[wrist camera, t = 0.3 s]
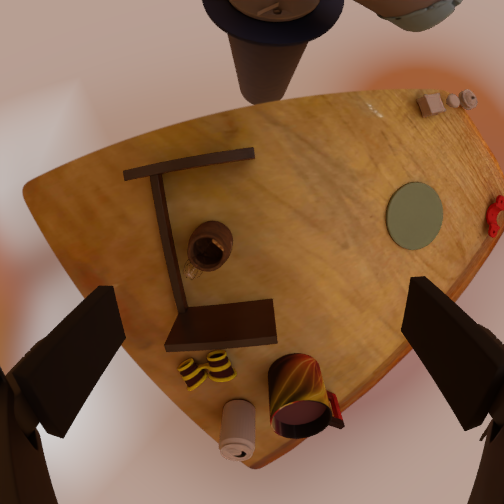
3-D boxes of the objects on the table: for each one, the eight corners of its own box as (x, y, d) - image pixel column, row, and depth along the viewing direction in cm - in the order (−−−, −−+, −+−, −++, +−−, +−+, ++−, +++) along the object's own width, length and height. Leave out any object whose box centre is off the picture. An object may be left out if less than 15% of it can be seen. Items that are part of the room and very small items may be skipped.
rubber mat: (416, 167, 42) (418, 168, 41) (451, 216, 44) (452, 217, 43) (372, 216, 44) (374, 216, 43) (411, 261, 46) (412, 263, 46)
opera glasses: (227, 344, 52) (222, 356, 47) (239, 368, 52) (235, 382, 47) (179, 358, 53) (171, 370, 48) (192, 381, 53) (185, 395, 48)
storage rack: (182, 314, 49) (166, 352, 39) (152, 167, 42) (122, 170, 32) (273, 305, 48) (277, 343, 38) (253, 150, 42) (253, 147, 31)
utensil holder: (186, 240, 45) (164, 268, 34) (213, 209, 44) (198, 227, 33) (215, 266, 47) (203, 300, 35) (243, 236, 45) (239, 263, 34)
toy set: (425, 93, 35) (414, 99, 38) (433, 114, 35) (422, 118, 39) (476, 87, 34) (465, 92, 37) (483, 106, 34) (472, 110, 38)
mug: (333, 393, 54) (346, 437, 43) (264, 390, 54) (265, 437, 42) (347, 355, 51) (365, 399, 40) (272, 351, 51) (276, 398, 40)
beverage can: (241, 421, 57) (239, 466, 45) (217, 408, 56) (210, 453, 44) (261, 407, 55) (262, 453, 44) (237, 392, 54) (233, 439, 43)
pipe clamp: (488, 235, 42) (481, 232, 44) (496, 239, 42) (489, 236, 44) (498, 193, 40) (491, 191, 42) (506, 198, 40) (499, 196, 42)
